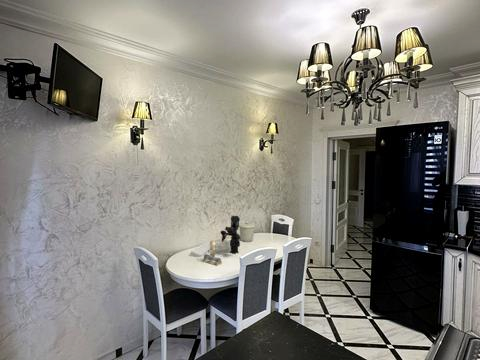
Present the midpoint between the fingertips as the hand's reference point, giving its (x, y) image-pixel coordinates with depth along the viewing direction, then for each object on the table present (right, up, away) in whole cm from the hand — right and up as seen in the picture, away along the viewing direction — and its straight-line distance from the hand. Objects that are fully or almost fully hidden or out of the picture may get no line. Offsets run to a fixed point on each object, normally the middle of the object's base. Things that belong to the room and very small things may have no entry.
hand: (225, 242), depth 231 cm
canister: (+20, -11, +56) cm, 60 cm away
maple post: (-11, -9, -11) cm, 18 cm away
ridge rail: (-11, -14, -11) cm, 21 cm away
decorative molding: (-22, -13, +19) cm, 32 cm away
